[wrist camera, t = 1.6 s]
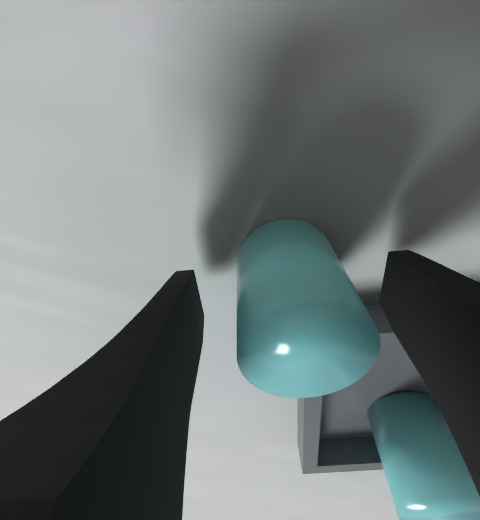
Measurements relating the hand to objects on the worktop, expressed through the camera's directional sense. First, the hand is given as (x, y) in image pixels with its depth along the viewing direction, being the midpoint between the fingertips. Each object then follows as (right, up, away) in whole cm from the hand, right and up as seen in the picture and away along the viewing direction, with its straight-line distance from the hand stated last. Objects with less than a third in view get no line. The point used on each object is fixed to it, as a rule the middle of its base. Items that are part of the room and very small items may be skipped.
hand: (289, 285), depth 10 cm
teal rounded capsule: (0, +1, +1) cm, 2 cm away
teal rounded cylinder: (+7, -7, +6) cm, 12 cm away
